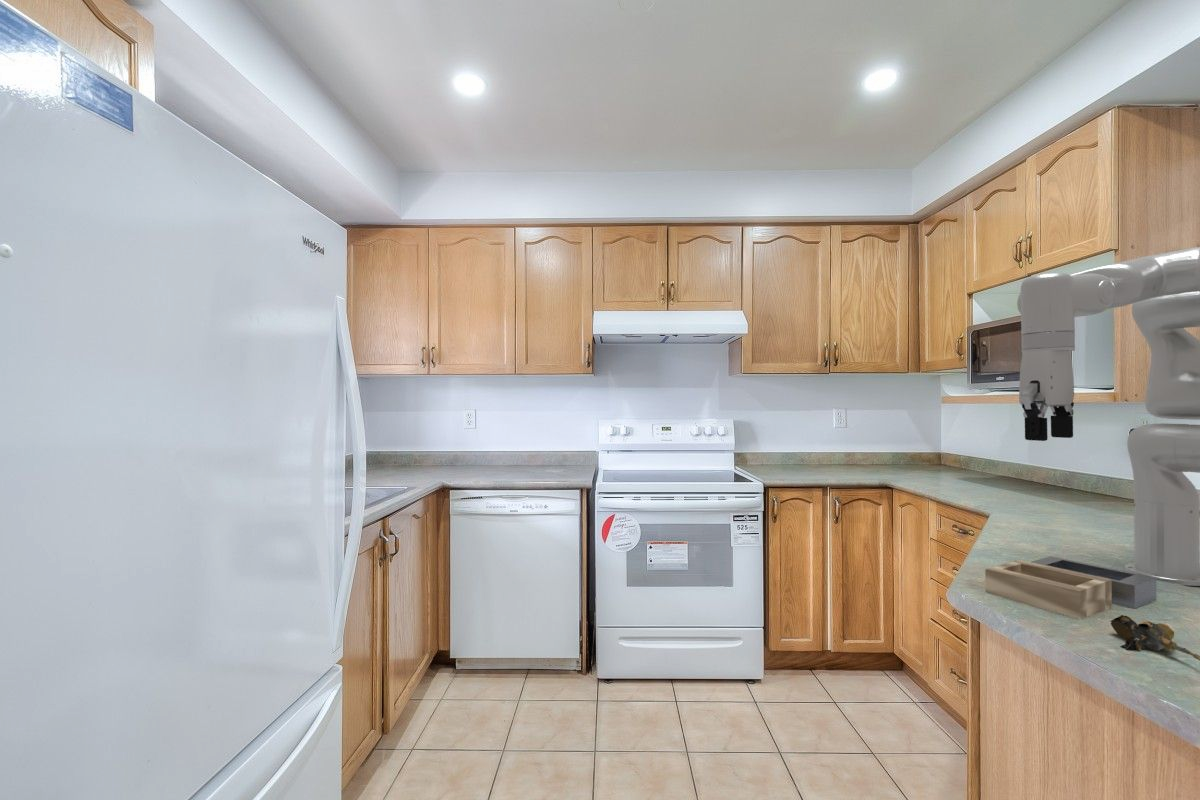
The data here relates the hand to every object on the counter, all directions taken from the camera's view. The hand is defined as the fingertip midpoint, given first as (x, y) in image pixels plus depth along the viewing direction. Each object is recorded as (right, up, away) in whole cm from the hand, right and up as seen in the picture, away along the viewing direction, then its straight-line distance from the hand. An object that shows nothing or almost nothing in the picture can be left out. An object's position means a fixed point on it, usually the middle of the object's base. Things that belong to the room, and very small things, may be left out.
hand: (1049, 438), depth 102 cm
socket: (-2, -29, -2) cm, 29 cm away
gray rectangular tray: (+11, -29, +4) cm, 31 cm away
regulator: (-4, -27, -31) cm, 41 cm away
